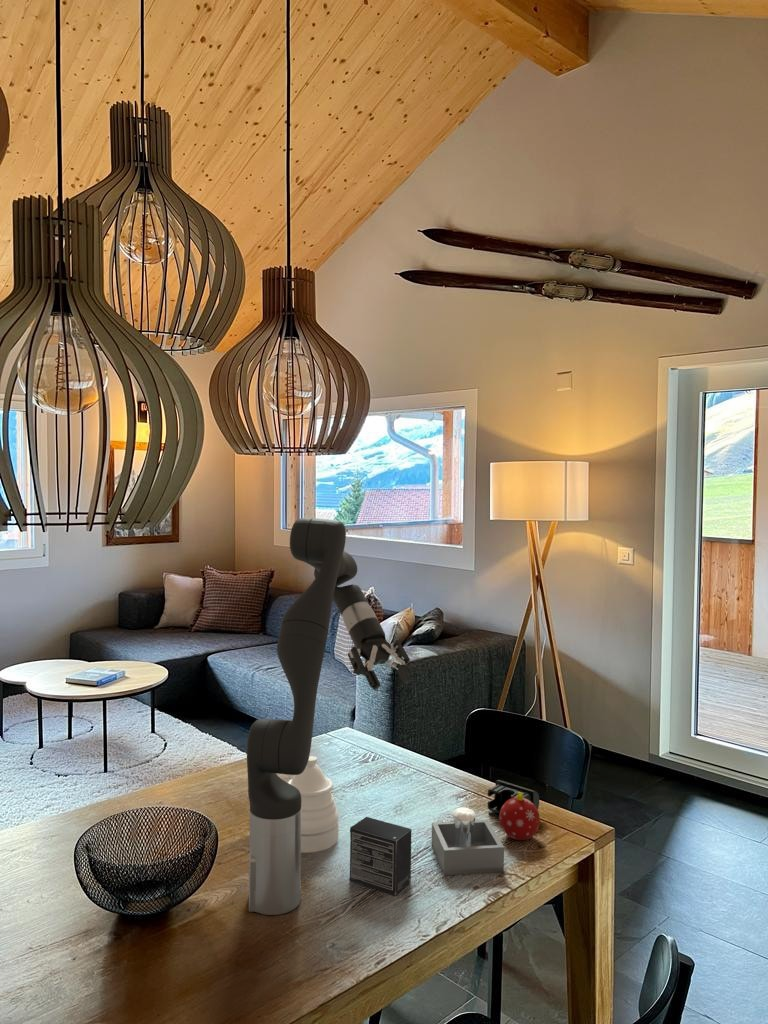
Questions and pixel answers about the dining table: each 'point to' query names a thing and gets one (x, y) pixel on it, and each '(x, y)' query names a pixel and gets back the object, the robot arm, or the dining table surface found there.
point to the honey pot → (316, 809)
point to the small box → (380, 855)
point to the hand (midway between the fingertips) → (392, 685)
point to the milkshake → (464, 826)
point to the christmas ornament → (519, 818)
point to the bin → (468, 850)
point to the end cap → (508, 796)
